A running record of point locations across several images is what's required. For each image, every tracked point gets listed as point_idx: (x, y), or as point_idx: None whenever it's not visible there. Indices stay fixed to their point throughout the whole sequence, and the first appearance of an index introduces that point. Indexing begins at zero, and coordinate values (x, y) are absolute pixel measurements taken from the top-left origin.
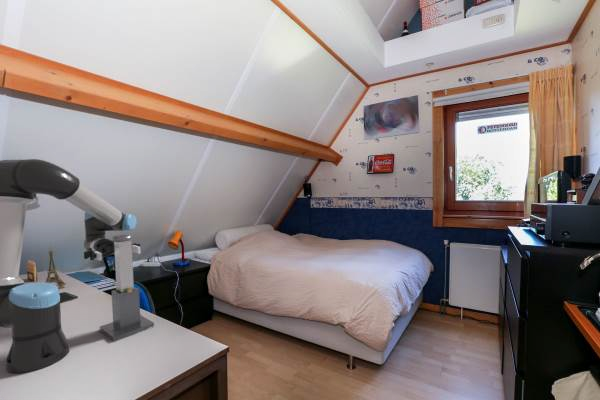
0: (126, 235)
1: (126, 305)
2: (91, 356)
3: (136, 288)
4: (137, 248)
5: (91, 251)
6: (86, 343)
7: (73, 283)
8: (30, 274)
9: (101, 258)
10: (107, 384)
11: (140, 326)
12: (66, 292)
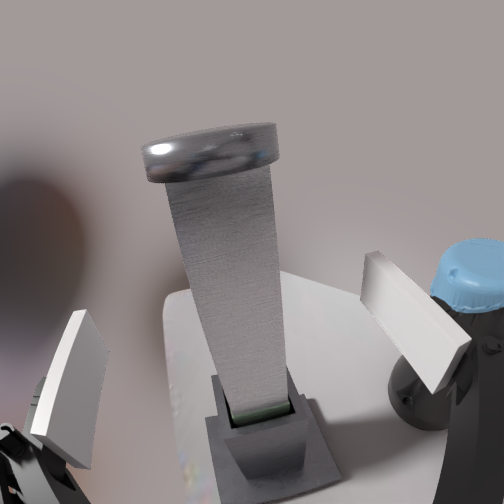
0: (171, 139)
1: None
2: (341, 362)
3: (215, 388)
4: (87, 332)
5: (491, 341)
6: (362, 419)
7: None
8: None
9: (364, 288)
10: (307, 291)
11: None
12: None
